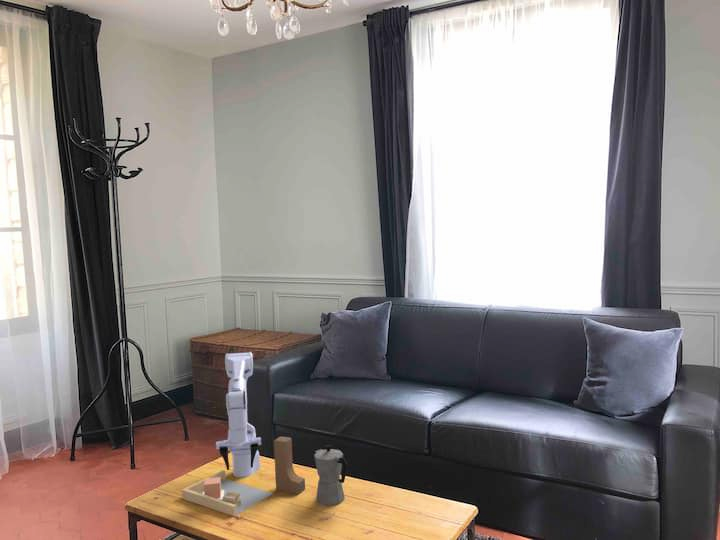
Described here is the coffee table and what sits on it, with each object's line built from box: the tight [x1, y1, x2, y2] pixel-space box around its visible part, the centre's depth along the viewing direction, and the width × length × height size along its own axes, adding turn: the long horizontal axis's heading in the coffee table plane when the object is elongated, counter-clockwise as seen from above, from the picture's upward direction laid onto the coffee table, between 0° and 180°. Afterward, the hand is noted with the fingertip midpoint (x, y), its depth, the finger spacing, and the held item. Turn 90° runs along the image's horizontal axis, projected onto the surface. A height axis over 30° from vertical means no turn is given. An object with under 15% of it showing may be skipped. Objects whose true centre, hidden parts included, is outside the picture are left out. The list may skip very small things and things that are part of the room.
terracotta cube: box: [204, 477, 221, 498], centre depth 196 cm, size 5×5×5 cm
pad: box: [203, 490, 224, 500], centre depth 196 cm, size 7×7×1 cm
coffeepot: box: [313, 444, 349, 507], centre depth 191 cm, size 15×9×18 cm, turn 43°
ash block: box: [223, 491, 241, 508], centre depth 187 cm, size 4×4×4 cm
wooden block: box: [273, 435, 306, 495], centre depth 198 cm, size 9×4×18 cm, turn 66°
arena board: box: [181, 469, 275, 517], centre depth 195 cm, size 18×24×4 cm
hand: (240, 467), depth 196 cm, fingers open, 7 cm apart
